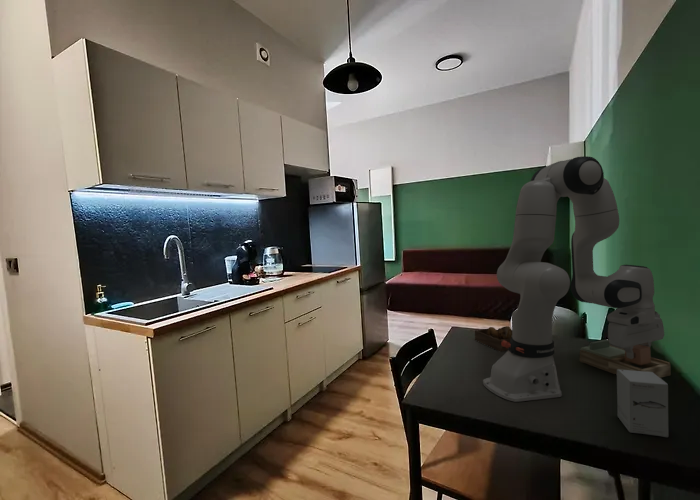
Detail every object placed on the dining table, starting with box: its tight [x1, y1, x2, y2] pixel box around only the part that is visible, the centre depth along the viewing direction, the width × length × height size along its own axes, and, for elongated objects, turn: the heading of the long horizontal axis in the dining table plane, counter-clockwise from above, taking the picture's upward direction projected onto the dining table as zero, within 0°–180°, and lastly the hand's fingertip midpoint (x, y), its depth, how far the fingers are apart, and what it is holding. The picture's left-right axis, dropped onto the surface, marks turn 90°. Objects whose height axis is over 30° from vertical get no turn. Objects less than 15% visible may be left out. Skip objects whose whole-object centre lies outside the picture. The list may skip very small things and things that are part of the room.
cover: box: [580, 338, 625, 359], centre depth 116 cm, size 10×10×3 cm
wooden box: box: [579, 344, 672, 379], centre depth 111 cm, size 14×19×4 cm
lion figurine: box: [487, 325, 512, 340], centre depth 139 cm, size 15×5×9 cm, turn 26°
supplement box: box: [616, 369, 669, 438], centre depth 78 cm, size 7×7×13 cm
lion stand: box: [474, 327, 512, 353], centre depth 140 cm, size 8×16×4 cm, turn 16°
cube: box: [625, 344, 652, 365], centre depth 106 cm, size 4×4×5 cm
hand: (637, 356), depth 106 cm, fingers closed on cube, 4 cm apart
